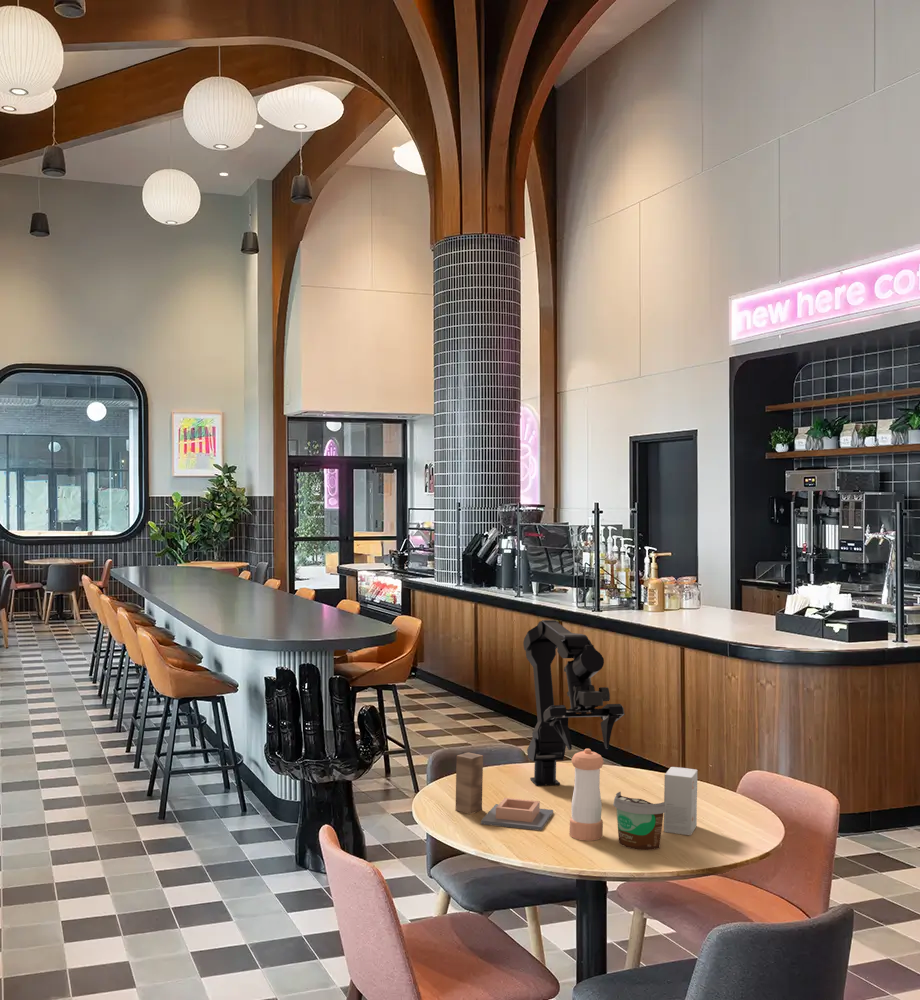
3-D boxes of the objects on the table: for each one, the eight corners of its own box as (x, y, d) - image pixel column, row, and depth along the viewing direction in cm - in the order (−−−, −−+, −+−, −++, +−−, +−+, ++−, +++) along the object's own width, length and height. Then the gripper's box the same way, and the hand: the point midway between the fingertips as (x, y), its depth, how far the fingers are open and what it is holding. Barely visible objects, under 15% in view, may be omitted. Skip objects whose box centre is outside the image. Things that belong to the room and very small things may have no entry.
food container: (601, 842, 228) (602, 796, 228) (617, 836, 232) (618, 790, 232) (649, 856, 219) (650, 808, 219) (665, 849, 224) (666, 802, 224)
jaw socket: (495, 807, 252) (496, 793, 252) (553, 813, 248) (553, 799, 248) (480, 824, 239) (481, 809, 239) (541, 830, 235) (541, 815, 235)
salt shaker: (596, 829, 236) (598, 744, 236) (606, 840, 229) (608, 752, 229) (565, 830, 235) (567, 745, 235) (574, 841, 228) (576, 753, 228)
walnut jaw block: (466, 806, 253) (468, 752, 253) (481, 809, 250) (483, 755, 250) (455, 810, 249) (456, 755, 249) (470, 814, 246) (471, 758, 246)
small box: (669, 822, 243) (670, 766, 244) (697, 825, 241) (698, 769, 241) (662, 832, 236) (664, 774, 236) (691, 836, 234) (692, 777, 234)
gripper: (553, 675, 244) (562, 742, 238) (627, 674, 249) (638, 739, 242) (539, 689, 254) (547, 753, 247) (611, 687, 259) (620, 750, 252)
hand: (588, 749), depth 247 cm, fingers open, 9 cm apart
